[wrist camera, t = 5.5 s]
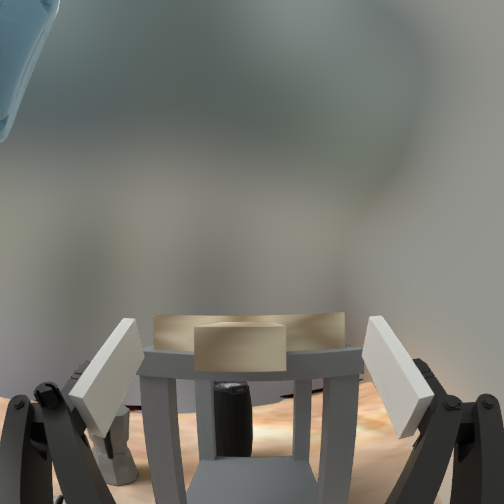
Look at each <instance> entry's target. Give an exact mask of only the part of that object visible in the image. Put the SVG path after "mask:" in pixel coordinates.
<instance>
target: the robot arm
mask: <svg viewBox="0 0 504 504" xmlns="http://www.w3.org/2000/svg"><path fill="white" fill-rule="evenodd" d="M59 2H60V1H59V0H0V142H2V141H4V140H5V139H6V137H7V136H8V134H9V132H10V130H11V127H12V125H13V122H14V119H15V117H16V113H17V110H18V107H19V104H20V102H21V100H22V98H23V95H24V92H25V90H26V87H27V84H28V82H29V79H30V77H31V74H32V71H33V69H34V67H35V64H36V62H37V59H38V57H39V54H40V52H41V50H42V48H43V45H44V43H45V40H46V38H47V36H48V34H49V31H50V29H51V27H52V24H53V22H54V20H55V17H56V14H57V11H58V8H59ZM144 357H145V356H144V353H143V349H142V345H141V342H140V337H139V333H138V329H137V325H136V320H135V319H129V318H123V320H122V321H121V322H120V324H119V325H118V326H117V327H116V329H115V330H114V331H113V333H112V334H111V335H110V337H109V338H108V339H107V341H106V342H105V344H104V345H103V346H102V348H101V349H100V350H99V352H98V353H97V354H96V356H95V357H94V359H93V360H92V361H85V362H84V363H82V364H81V365H80V366H79V367H78V368H77V370H76V371H75V373H74V374H73V375H72V376H71V379H69V380H68V382H67V383H66V385H65V386H64V388H63V389H62V390H61V392H60V390H59V388H58V387H57V385H56V384H55V383H53V382H44V383H42V384H40V385H39V386H37V387H36V389H35V390H34V396H35V398H36V400H37V401H38V403H31V402H30V400H29V399H28V397H27V396H25V395H17V396H15V397H13V398H12V399H11V400H10V402H9V404H8V408H7V412H6V416H5V421H4V425H3V430H2V435H1V441H0V504H54V502H53V486H52V462H53V465H54V469H55V472H56V476H57V479H58V482H59V485H60V488H61V491H62V494H63V497H64V500H65V503H66V504H116V502H115V501H114V499H113V497H112V495H111V493H110V491H109V489H108V487H107V485H106V482H105V480H104V478H103V476H102V474H101V472H100V469H99V467H98V465H97V462H96V460H95V458H94V455H93V453H92V450H91V448H90V445H89V442H88V440H87V437H86V435H85V434H84V431H85V429H86V427H87V428H88V430H89V431H90V433H91V435H95V436H99V437H102V438H105V437H106V434H107V432H108V430H109V428H110V426H111V424H112V422H113V420H114V418H115V415H116V413H117V411H118V409H119V407H120V405H121V403H122V401H123V399H124V397H125V395H126V393H127V391H128V389H129V387H130V385H131V383H132V381H133V379H134V377H135V375H136V373H137V371H138V369H139V367H140V365H141V363H142V361H143V359H144ZM362 358H363V360H364V362H365V364H366V366H367V368H368V370H369V373H370V375H371V377H372V379H373V381H374V384H375V386H376V388H377V390H378V392H379V395H380V397H381V399H382V401H383V404H384V406H385V408H386V410H387V413H388V415H389V417H390V420H391V422H392V424H393V427H394V429H395V432H396V434H397V436H398V439H402V438H405V437H409V436H413V435H414V433H415V431H416V429H417V428H418V429H419V431H420V435H419V437H418V438H417V440H416V442H415V443H414V445H413V447H414V448H413V450H412V453H411V455H410V457H409V459H408V461H407V463H406V465H405V467H404V469H403V471H402V473H401V475H400V477H399V479H398V481H397V483H396V485H395V487H394V489H393V490H392V492H391V494H390V496H389V497H388V499H387V501H386V503H385V504H433V503H434V501H435V498H436V496H437V493H438V491H439V488H440V486H441V483H442V481H443V478H444V475H445V472H446V470H447V466H448V463H449V460H450V457H451V454H452V451H453V448H454V462H453V478H452V490H451V498H450V504H504V428H503V421H502V415H501V410H500V405H499V402H498V400H497V399H496V398H495V397H494V396H492V395H491V394H482V395H480V396H479V397H478V399H477V400H476V402H469V403H462V402H461V400H460V399H459V398H458V397H456V396H453V395H447V394H446V392H445V390H444V389H443V387H442V386H441V384H440V383H439V381H438V380H437V378H436V377H434V376H435V375H434V374H433V373H432V372H431V369H430V368H429V367H428V365H427V364H426V363H425V362H423V361H422V360H421V359H419V358H418V359H413V360H412V359H411V358H410V356H409V354H408V353H407V352H406V350H405V349H404V347H403V346H402V344H401V343H400V341H399V340H398V338H397V337H396V335H395V334H394V333H393V331H392V330H391V328H390V327H389V326H388V324H387V323H386V321H385V320H384V319H383V317H382V316H372V317H369V322H368V327H367V333H366V337H365V342H364V347H363V351H362Z"/></svg>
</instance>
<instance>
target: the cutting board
mask: <svg viewBox="0 0 504 504" xmlns="http://www.w3.org/2000/svg"><path fill="white" fill-rule="evenodd" d="M344 316H345V315H344V312H342V313H326V314H303V315H273V316H189V315H188V316H186V315H158V314H154V315H153V339H154V340H153V343H154V349H159V350H174V351H194V361H195V371H218V372H271V371H286V352H288V351H309V350H324V349H337V348H345V317H344Z"/></svg>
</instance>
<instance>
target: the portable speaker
mask: <svg viewBox="0 0 504 504" xmlns="http://www.w3.org/2000/svg"><path fill="white" fill-rule="evenodd" d="M213 394H214V420H215V440H216V456H221V457H251V453H252V441H253V427H252V405H251V397H250V391H249V386H248V384H247V382H246V381H213Z"/></svg>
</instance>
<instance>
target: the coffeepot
mask: <svg viewBox="0 0 504 504" xmlns="http://www.w3.org/2000/svg"><path fill="white" fill-rule="evenodd" d="M129 414H130V409H128V408H127V407H125V406H124V405H122V404H121V405H120V407H119V409H118V411H117V413H116V415H115V418H114V420H113V422H112V424H111V426H110V428H109V430H108V432H107V434H106V437H105V438H102V437H99V436H95V435H91V433H90V431H89V430H88V428H87V427H86V428H87V431H88V434H89V437H90V439H91V440H92V442H93V445H94V447H93V448H92V453H93V455H94V458H95V460H96V462H97V465H98V467H99V469H100V472H101V474H102V476H103V478H104V480H105V482H106V484H109V485H126V484H130V483H132V482H134V481H135V480H136V478H137V475H138V471H137V468H136V466H135V463H134V461H133V458H132V455H131V452H130V450H129V448H128V447H127V441H128V439H129Z"/></svg>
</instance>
